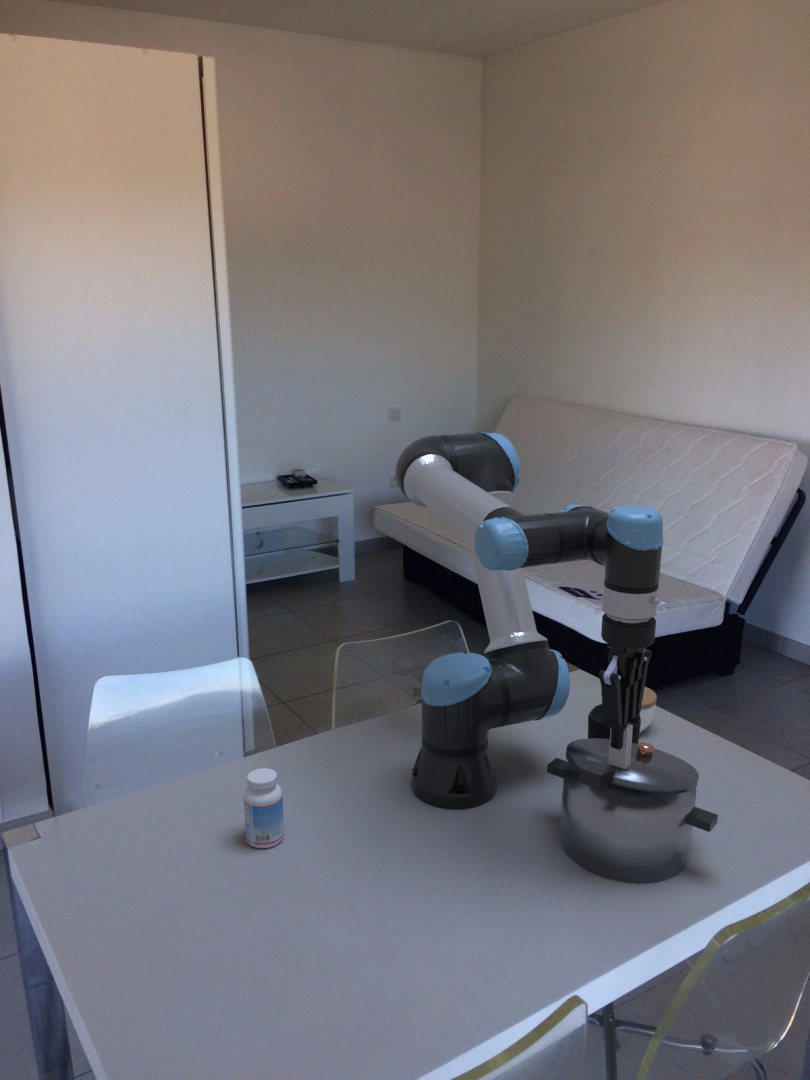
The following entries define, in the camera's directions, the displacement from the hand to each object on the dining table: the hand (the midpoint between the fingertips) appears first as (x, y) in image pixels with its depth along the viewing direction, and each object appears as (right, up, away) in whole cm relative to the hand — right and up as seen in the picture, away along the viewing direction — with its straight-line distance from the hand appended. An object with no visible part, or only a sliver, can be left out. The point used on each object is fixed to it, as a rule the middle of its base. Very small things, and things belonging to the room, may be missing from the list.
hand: (619, 764), depth 131 cm
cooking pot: (+3, -14, +8) cm, 16 cm away
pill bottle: (-54, -14, +9) cm, 57 cm away
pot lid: (+1, -2, +3) cm, 3 cm away
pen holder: (+6, -8, +32) cm, 34 cm away
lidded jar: (+13, -5, +46) cm, 48 cm away
